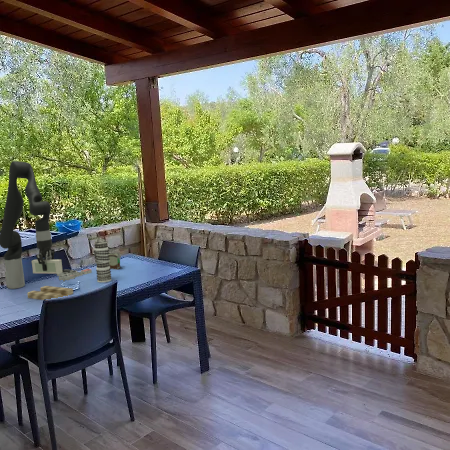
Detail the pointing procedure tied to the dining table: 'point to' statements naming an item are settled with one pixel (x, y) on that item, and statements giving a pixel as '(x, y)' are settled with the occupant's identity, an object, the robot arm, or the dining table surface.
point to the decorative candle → (102, 261)
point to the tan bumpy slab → (50, 292)
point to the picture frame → (48, 267)
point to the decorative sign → (72, 274)
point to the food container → (114, 261)
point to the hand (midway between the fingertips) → (47, 269)
